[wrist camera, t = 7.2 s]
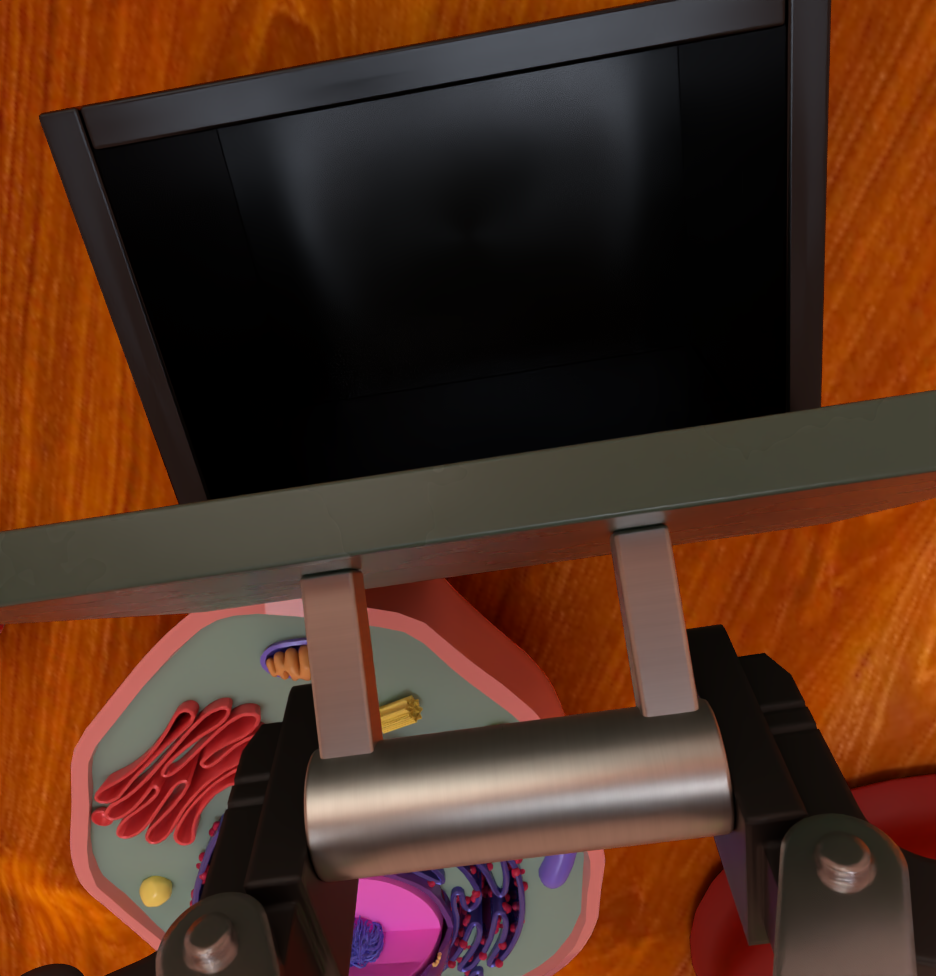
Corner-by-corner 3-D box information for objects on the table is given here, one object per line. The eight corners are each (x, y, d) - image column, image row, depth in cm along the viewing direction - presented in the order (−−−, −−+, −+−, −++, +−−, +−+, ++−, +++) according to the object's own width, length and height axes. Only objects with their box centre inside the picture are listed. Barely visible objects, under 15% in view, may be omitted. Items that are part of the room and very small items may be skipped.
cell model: (565, 444, 30) (619, 650, 20) (580, 845, 39) (621, 1123, 29) (85, 483, 31) (-96, 702, 21) (210, 869, 40) (127, 1150, 30)
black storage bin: (184, 86, 25) (35, 114, 16) (697, -10, 24) (834, -34, 15) (280, 423, 30) (206, 584, 21) (711, 356, 29) (820, 495, 20)
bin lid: (-214, 563, 9) (-197, 1016, 9) (1202, 347, 8) (1329, 842, 8) (199, 578, 21) (219, 777, 20) (823, 488, 20) (864, 694, 19)
